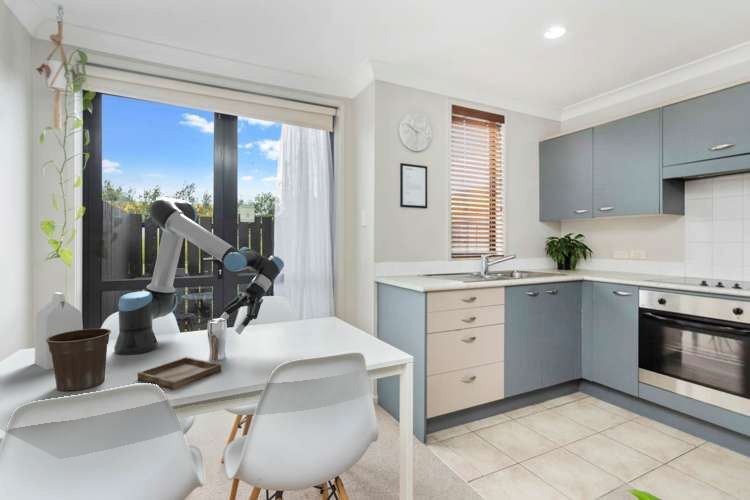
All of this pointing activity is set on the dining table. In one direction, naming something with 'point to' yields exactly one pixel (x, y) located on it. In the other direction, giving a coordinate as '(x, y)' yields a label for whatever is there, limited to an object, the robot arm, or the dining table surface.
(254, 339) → the dining table surface
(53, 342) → the plant pot
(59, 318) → the milk
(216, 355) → the beer glass
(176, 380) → the walnut tray
